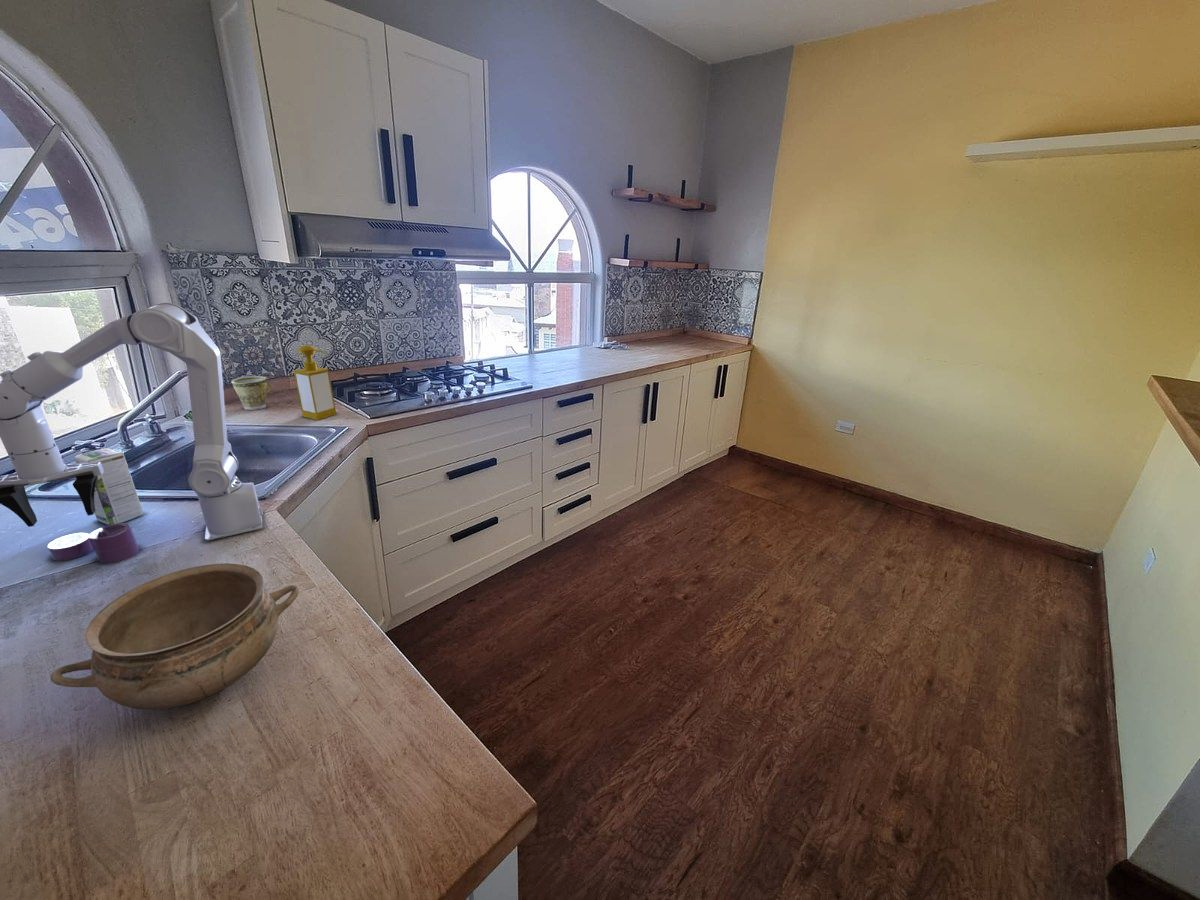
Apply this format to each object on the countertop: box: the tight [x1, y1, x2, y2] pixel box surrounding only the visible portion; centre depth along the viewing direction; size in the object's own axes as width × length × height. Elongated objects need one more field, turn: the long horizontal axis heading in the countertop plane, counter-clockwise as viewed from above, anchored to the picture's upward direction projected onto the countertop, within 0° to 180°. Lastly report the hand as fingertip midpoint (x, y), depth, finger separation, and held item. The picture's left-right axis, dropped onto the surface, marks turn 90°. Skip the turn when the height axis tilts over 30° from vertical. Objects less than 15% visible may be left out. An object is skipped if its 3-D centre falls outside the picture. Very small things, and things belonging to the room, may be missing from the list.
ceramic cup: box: [230, 375, 272, 411], centre depth 173 cm, size 13×10×10 cm
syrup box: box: [73, 447, 144, 526], centre depth 102 cm, size 6×6×14 cm
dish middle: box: [89, 522, 136, 551], centre depth 91 cm, size 6×6×2 cm
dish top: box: [46, 532, 94, 562], centre depth 92 cm, size 6×6×2 cm
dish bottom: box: [93, 537, 140, 564], centre depth 92 cm, size 6×6×2 cm
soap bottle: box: [293, 344, 337, 421], centre depth 164 cm, size 7×13×24 cm, turn 65°
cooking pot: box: [50, 562, 300, 711], centre depth 65 cm, size 25×19×12 cm
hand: (63, 518), depth 90 cm, fingers open, 7 cm apart
